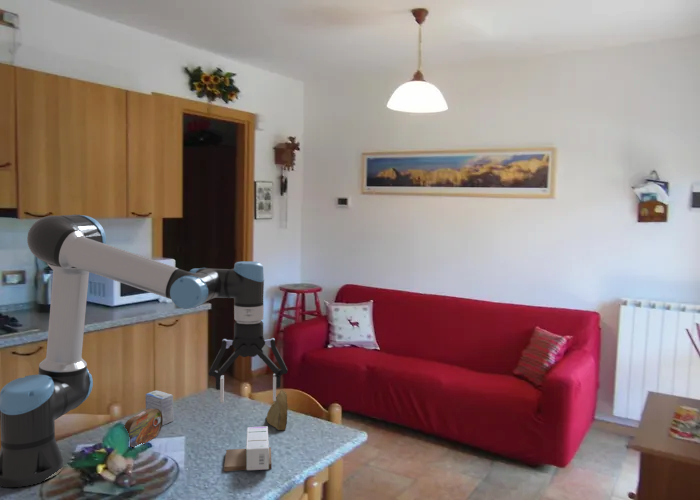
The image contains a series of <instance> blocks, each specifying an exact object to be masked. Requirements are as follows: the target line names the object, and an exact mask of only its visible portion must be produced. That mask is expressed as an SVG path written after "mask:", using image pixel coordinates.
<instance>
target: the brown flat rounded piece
mask: <svg viewBox="0 0 700 500" xmlns="http://www.w3.org/2000/svg"><path fill="white" fill-rule="evenodd" d="M162 422H163V417H162V413H161V411H160V410H159V409H146V408H145V410H143V411H141V412H139V413H138V414H136V415H134V416H132V417H130V418H129V419H128V420H127V421H126V422H125V424H124V426H125V428H126V429H127V431H128V433H129V437H130V446H131V447H135V446H137V445H139V444H141V443H142V444H143V443H145V444H147V443H148V441H149V442H150V441H151V440H154V439H155V438H156V437H158V436H159V434H160V432H161V431H162V427H163V425H162ZM124 426H123V427H124ZM146 442H147V443H146Z"/></svg>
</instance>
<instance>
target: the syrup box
mask: <svg viewBox="0 0 700 500" xmlns="http://www.w3.org/2000/svg"><path fill="white" fill-rule="evenodd" d="M246 429H247V430H246V444H245V449H246V470H245V471H259V470H260V471H261V470H270V469H269V447H270V443H269V427H268V425H267V426H249V427H248V426H247V428H246Z"/></svg>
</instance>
